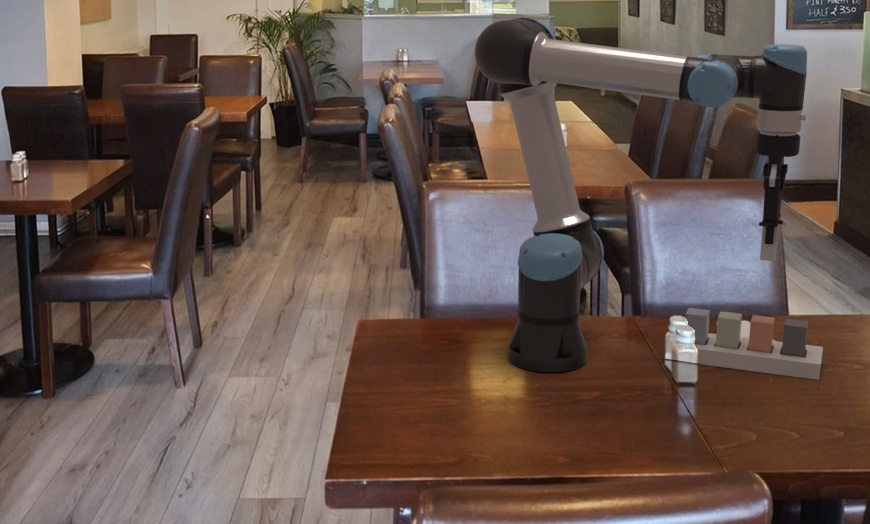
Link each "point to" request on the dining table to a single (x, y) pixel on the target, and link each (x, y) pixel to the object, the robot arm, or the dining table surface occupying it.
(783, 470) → the dining table surface
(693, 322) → the key slate
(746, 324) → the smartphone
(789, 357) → the grey block holder
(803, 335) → the key charcoal
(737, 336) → the key sage
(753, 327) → the key terracotta
